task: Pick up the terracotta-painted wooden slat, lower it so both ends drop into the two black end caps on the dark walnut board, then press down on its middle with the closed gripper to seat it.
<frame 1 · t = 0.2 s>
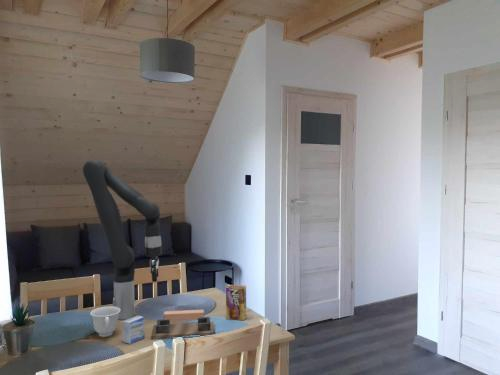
hand: (155, 279, 194), 17 cm above the table, tool pointing down, fingers open, 8 cm apart
teacup: (106, 336, 171), on the table
board: (183, 332, 175), on the table
medicine box: (133, 340, 167), on the table
slat: (184, 321, 188), on the table
candy box: (236, 318, 191), on the table
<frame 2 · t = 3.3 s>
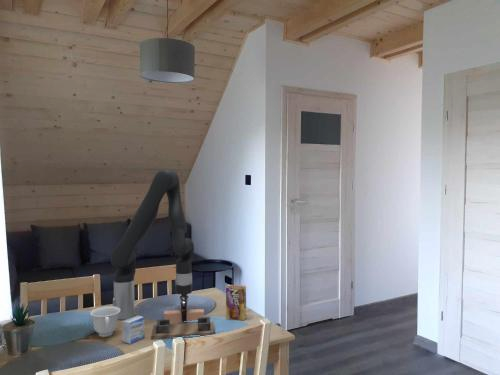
hand: (184, 319, 188), 1 cm above the table, tool pointing down, fingers closed on slat, 4 cm apart
slat: (184, 321, 188), on the table, touching gripper
everything else where it was.
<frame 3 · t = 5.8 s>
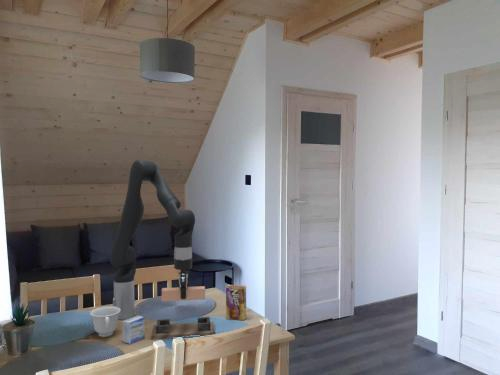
hand: (183, 296, 174), 15 cm above the table, tool pointing down, fingers closed on slat, 4 cm apart
slat: (183, 298, 174), point 14 cm above the table, touching gripper
everything else where it was.
when the fingers open (4 cm above the table, at t = 8.2 s): slat drops 1 cm, resting on board.
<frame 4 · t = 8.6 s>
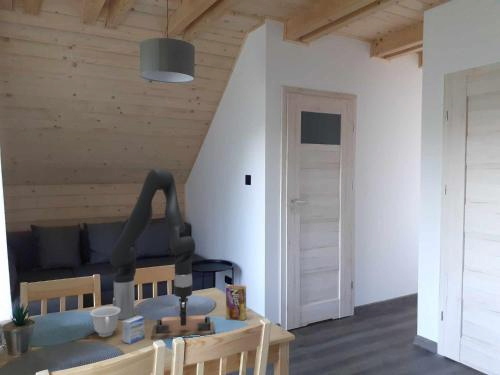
hand: (183, 321, 175), 4 cm above the table, tool pointing down, fingers open, 7 cm apart
slat: (183, 328, 175), point 1 cm above the table, touching board
everything else where it was.
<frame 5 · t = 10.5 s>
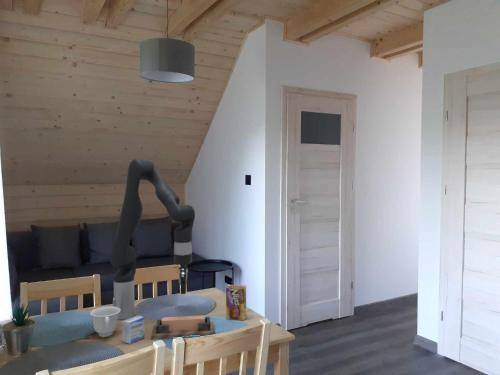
hand: (183, 292, 174), 17 cm above the table, tool pointing down, fingers open, 3 cm apart
nothing on the table moved.
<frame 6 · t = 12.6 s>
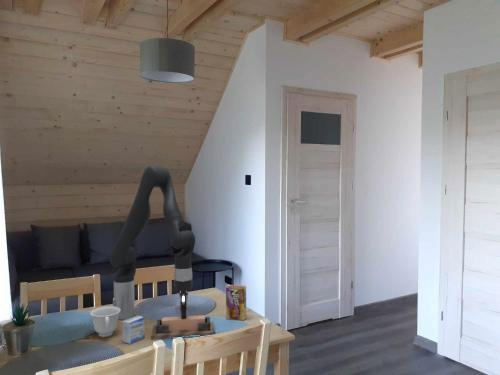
hand: (183, 318, 175), 6 cm above the table, tool pointing down, fingers closed
slat: (183, 328, 175), point 1 cm above the table, touching board, gripper
everything else where it was.
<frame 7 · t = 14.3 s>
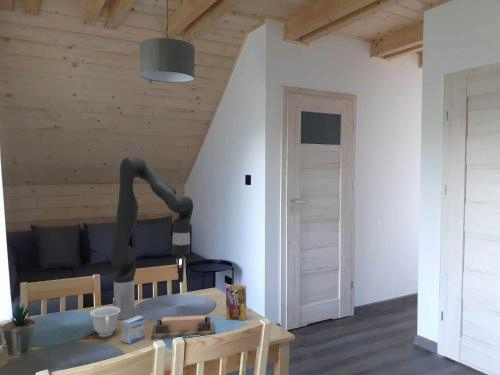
hand: (180, 281, 179), 20 cm above the table, tool pointing down, fingers closed
slat: (183, 328, 175), point 1 cm above the table, touching board
everything else where it was.
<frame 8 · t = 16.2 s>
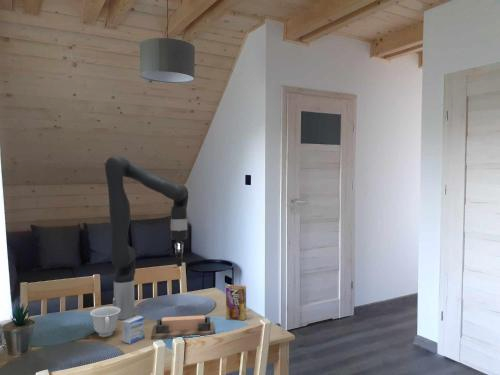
hand: (179, 266, 188), 25 cm above the table, tool pointing down, fingers closed
nothing on the table moved.
at the end: slat 0.2 cm off-centre on the board, point 1.5 cm above the board's base; slat tilted 0°; the gripper is holding nothing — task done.
